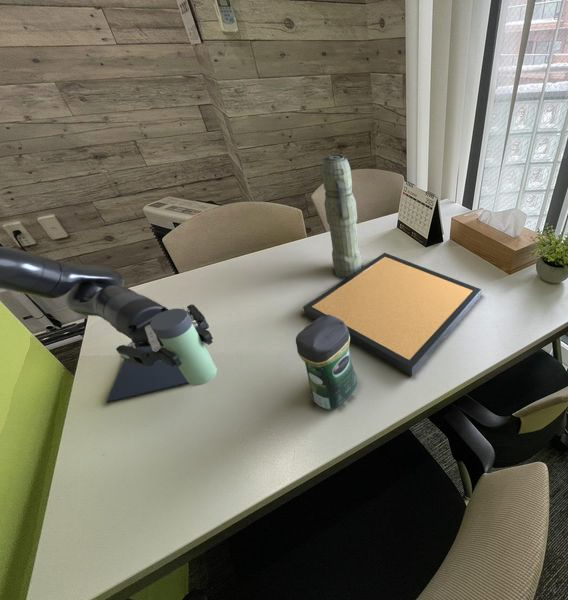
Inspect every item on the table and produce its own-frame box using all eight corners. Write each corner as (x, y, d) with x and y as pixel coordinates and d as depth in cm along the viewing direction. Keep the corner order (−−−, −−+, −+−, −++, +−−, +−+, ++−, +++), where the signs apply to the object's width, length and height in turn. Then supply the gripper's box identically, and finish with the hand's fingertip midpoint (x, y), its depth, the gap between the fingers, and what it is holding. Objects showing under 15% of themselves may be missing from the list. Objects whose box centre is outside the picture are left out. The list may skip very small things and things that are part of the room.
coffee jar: (336, 368, 74) (323, 305, 62) (363, 383, 71) (355, 320, 59) (304, 398, 68) (284, 335, 56) (333, 417, 64) (317, 354, 53)
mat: (107, 403, 67) (106, 401, 67) (131, 348, 79) (129, 347, 78) (193, 382, 71) (192, 381, 70) (203, 333, 83) (202, 332, 82)
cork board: (411, 376, 72) (480, 297, 94) (412, 368, 70) (481, 289, 92) (304, 314, 88) (384, 259, 111) (302, 306, 87) (384, 252, 109)
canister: (188, 390, 58) (150, 334, 49) (185, 371, 61) (149, 315, 52) (220, 377, 60) (189, 321, 51) (215, 359, 63) (185, 304, 54)
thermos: (342, 283, 100) (325, 165, 78) (329, 265, 108) (311, 153, 86) (368, 275, 103) (359, 160, 81) (354, 258, 111) (342, 149, 89)
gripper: (82, 324, 54) (138, 364, 47) (167, 281, 64) (223, 309, 57) (107, 355, 59) (162, 395, 52) (183, 310, 68) (237, 339, 62)
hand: (194, 350), depth 54 cm, fingers closed on canister, 5 cm apart
